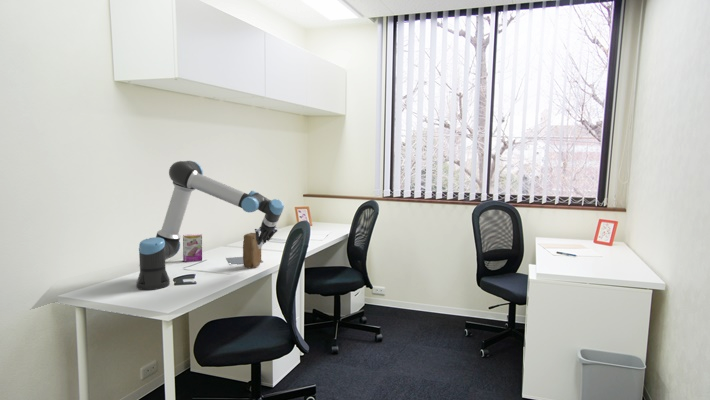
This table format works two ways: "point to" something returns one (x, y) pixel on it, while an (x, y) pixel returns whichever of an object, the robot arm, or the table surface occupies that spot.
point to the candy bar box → (192, 247)
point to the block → (251, 251)
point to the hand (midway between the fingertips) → (259, 246)
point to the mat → (236, 260)
